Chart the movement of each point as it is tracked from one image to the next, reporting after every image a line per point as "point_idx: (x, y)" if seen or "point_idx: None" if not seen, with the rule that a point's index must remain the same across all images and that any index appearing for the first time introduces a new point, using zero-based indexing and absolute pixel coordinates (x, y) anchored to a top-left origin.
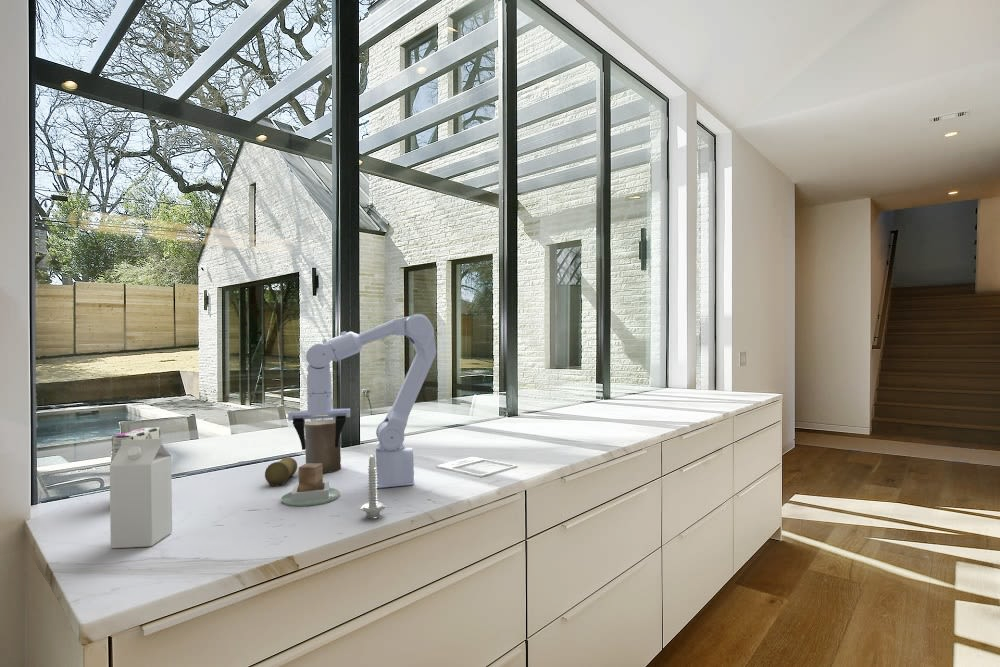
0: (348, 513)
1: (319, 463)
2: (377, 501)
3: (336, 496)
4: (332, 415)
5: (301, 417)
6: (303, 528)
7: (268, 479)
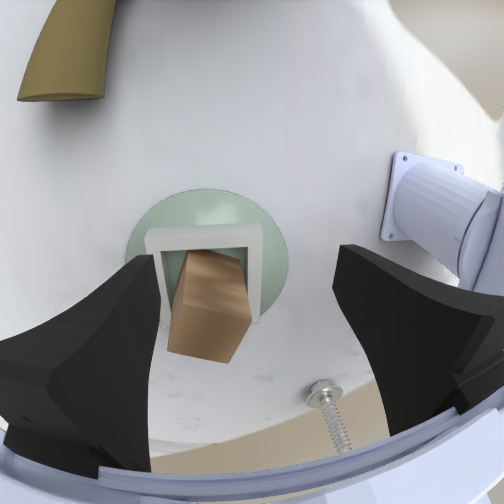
0: (287, 372)
1: (240, 319)
2: (333, 402)
3: (275, 299)
4: (432, 438)
5: (96, 490)
6: (217, 406)
7: (44, 100)
